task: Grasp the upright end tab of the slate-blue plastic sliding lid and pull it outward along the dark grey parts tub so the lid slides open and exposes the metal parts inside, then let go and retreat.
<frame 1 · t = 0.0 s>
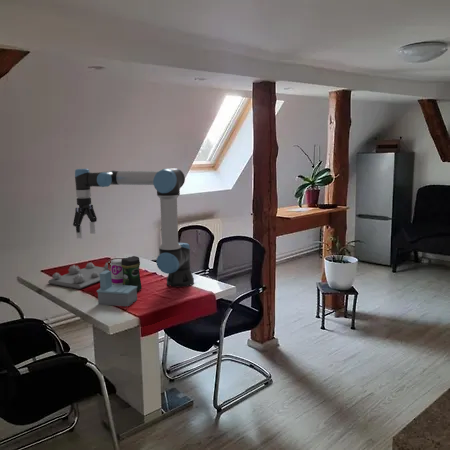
hand: (86, 235, 248), 28 cm above the table, fingers open, 13 cm apart
supplement can: (119, 286, 249), on the table
lid: (116, 281, 223), point 11 cm above the table, slide at 0.0 cm
coffee jar: (132, 291, 242), on the table
tub: (118, 302, 224), on the table
decorative tray: (86, 280, 264), on the table
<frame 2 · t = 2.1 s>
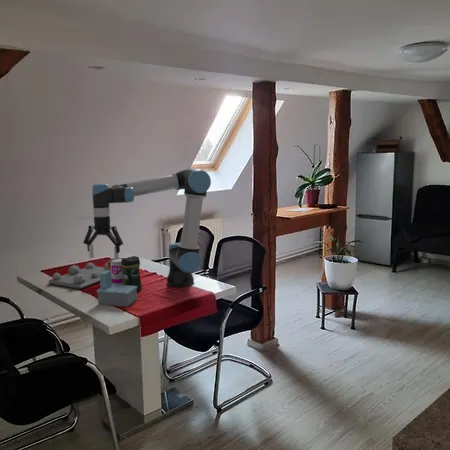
hand: (104, 258, 222), 22 cm above the table, fingers open, 13 cm apart
nothing on the table moved.
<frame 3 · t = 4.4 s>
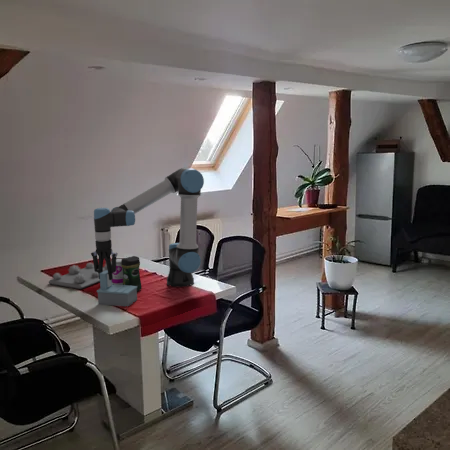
hand: (106, 285, 224), 8 cm above the table, fingers closed on lid, 3 cm apart
lid: (116, 281, 223), point 11 cm above the table, slide at 0.0 cm, touching gripper
everything else where it was.
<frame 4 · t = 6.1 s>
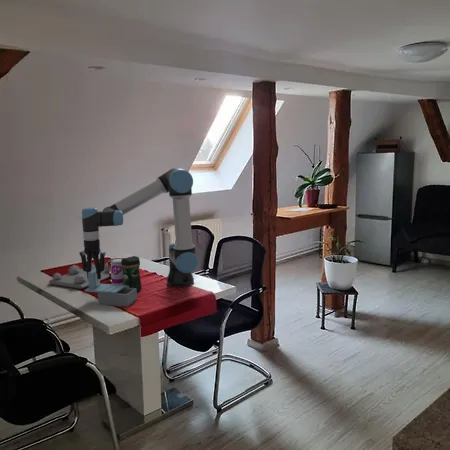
hand: (94, 284, 226), 8 cm above the table, fingers closed on lid, 3 cm apart
lid: (105, 280, 224), point 11 cm above the table, slide at 6.4 cm, touching gripper
everything else where it was.
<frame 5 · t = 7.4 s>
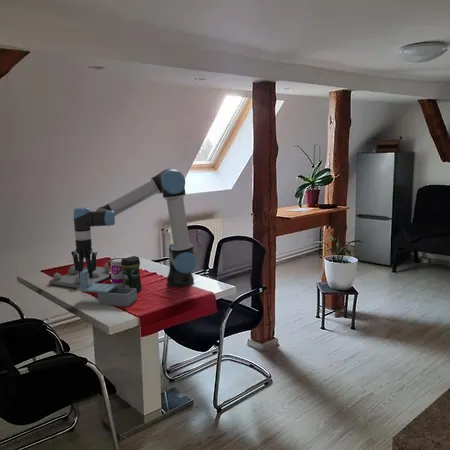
hand: (86, 284, 227), 8 cm above the table, fingers closed on lid, 3 cm apart
lid: (96, 280, 225), point 11 cm above the table, slide at 11.0 cm, touching gripper
everything else where it was.
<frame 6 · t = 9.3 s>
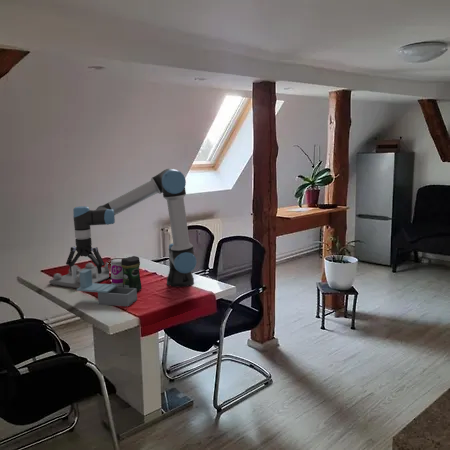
hand: (86, 279, 227), 11 cm above the table, fingers open, 13 cm apart
lid: (96, 280, 225), point 11 cm above the table, slide at 11.0 cm
everything else where it was.
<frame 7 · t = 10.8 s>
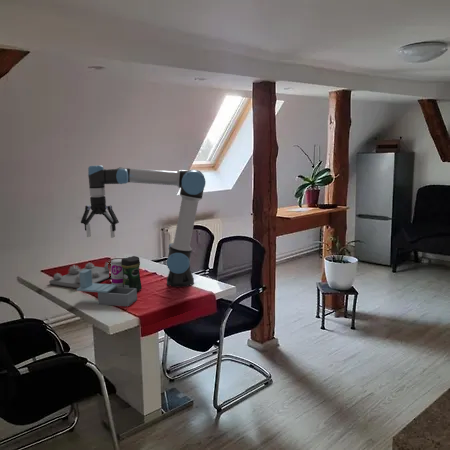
hand: (100, 237, 233), 30 cm above the table, fingers open, 13 cm apart
nothing on the table moved.
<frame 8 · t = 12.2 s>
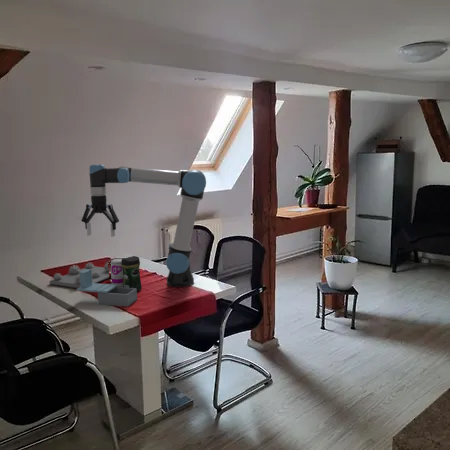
hand: (101, 235, 234), 31 cm above the table, fingers open, 13 cm apart
nothing on the table moved.
at the end: lid slide at 11.0 cm; the gripper is holding nothing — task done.
